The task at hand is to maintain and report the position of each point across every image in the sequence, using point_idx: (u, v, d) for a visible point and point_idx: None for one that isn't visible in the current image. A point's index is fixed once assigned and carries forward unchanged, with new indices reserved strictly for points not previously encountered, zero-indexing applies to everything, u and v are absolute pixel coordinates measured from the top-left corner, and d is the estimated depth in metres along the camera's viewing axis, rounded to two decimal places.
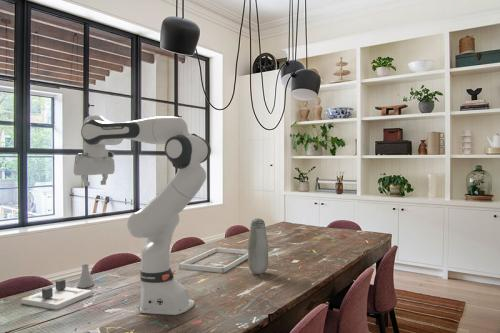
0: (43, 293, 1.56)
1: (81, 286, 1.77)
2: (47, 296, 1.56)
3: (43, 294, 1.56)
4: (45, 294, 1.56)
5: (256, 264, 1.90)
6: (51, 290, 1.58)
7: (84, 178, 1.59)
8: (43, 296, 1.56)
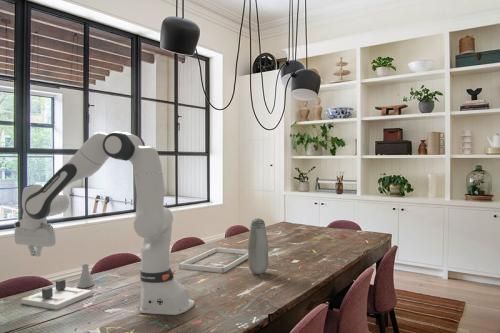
0: (43, 293, 1.56)
1: (81, 286, 1.77)
2: (47, 296, 1.56)
3: (43, 294, 1.56)
4: (45, 294, 1.56)
5: (256, 264, 1.90)
6: (51, 290, 1.58)
7: (41, 248, 1.59)
8: (43, 296, 1.56)
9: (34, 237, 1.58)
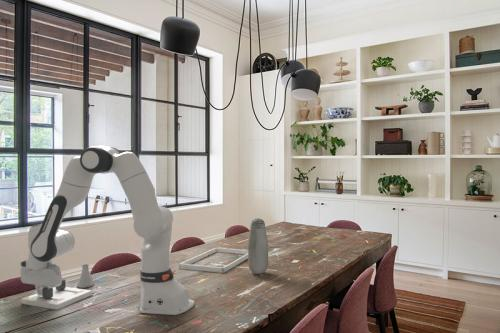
0: (43, 293, 1.56)
1: (81, 286, 1.77)
2: (47, 296, 1.56)
3: (43, 294, 1.56)
4: (45, 294, 1.56)
5: (256, 264, 1.90)
6: (52, 290, 1.58)
7: (46, 287, 1.59)
8: (43, 296, 1.56)
9: (40, 277, 1.57)
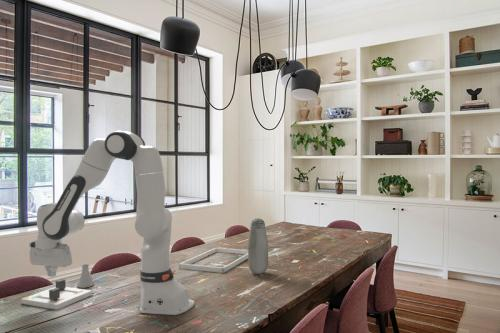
0: (50, 294, 1.55)
1: (81, 286, 1.77)
2: (54, 297, 1.55)
3: (50, 295, 1.55)
4: (52, 295, 1.54)
5: (256, 264, 1.90)
6: (59, 291, 1.57)
7: (56, 268, 1.56)
8: (50, 297, 1.55)
9: (50, 257, 1.54)
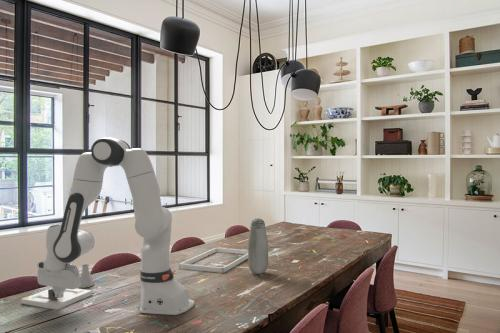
0: (49, 294, 1.55)
1: (81, 286, 1.77)
2: (53, 297, 1.55)
3: (49, 295, 1.55)
4: (51, 295, 1.55)
5: (256, 264, 1.90)
6: None
7: (64, 289, 1.54)
8: (49, 297, 1.55)
9: (58, 279, 1.52)
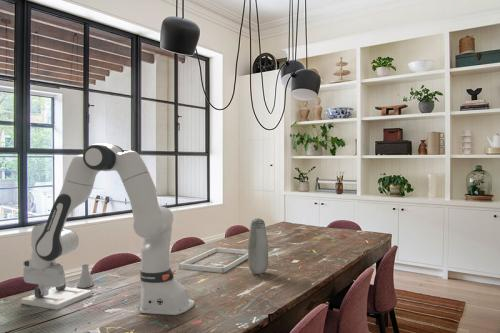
0: (36, 292, 1.58)
1: (81, 286, 1.77)
2: (40, 295, 1.58)
3: (36, 293, 1.58)
4: (38, 292, 1.58)
5: (256, 264, 1.90)
6: None
7: (49, 287, 1.58)
8: (36, 295, 1.58)
9: (43, 277, 1.56)
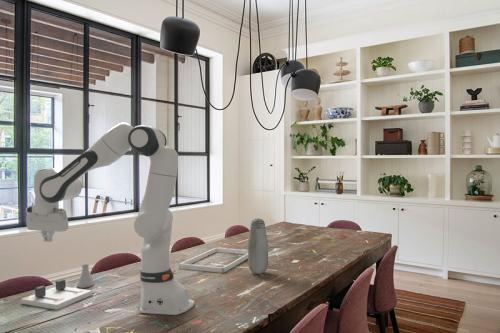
0: (36, 292, 1.58)
1: (81, 286, 1.77)
2: (40, 295, 1.58)
3: (36, 293, 1.58)
4: (38, 293, 1.57)
5: (256, 264, 1.90)
6: (44, 289, 1.60)
7: (52, 233, 1.57)
8: (36, 295, 1.58)
9: (46, 222, 1.55)
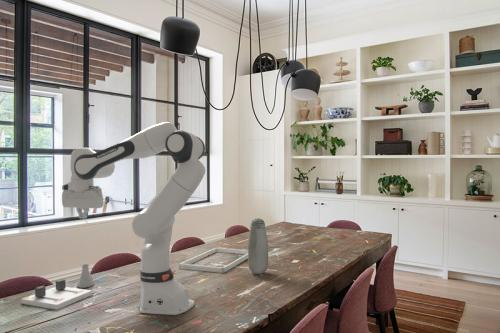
0: (36, 292, 1.58)
1: (81, 286, 1.77)
2: (40, 295, 1.58)
3: (36, 293, 1.58)
4: (38, 293, 1.57)
5: (256, 264, 1.90)
6: (44, 289, 1.60)
7: (87, 210, 1.62)
8: (36, 295, 1.58)
9: (82, 199, 1.60)
